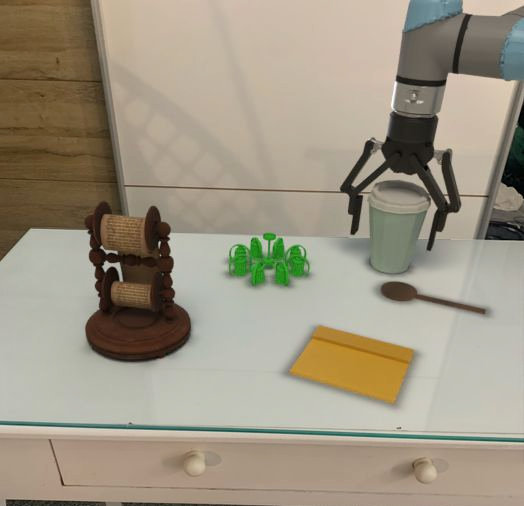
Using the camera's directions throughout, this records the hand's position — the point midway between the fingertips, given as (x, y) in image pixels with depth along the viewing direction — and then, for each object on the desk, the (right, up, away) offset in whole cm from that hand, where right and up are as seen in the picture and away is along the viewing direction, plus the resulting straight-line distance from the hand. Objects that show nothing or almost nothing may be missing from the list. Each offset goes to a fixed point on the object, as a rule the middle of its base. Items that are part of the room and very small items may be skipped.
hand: (391, 240), depth 98 cm
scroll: (-41, -18, -17) cm, 48 cm away
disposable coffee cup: (0, -5, +3) cm, 6 cm away
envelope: (-10, -22, -22) cm, 33 cm away
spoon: (+5, -12, -6) cm, 14 cm away
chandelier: (-22, -6, +1) cm, 23 cm away
